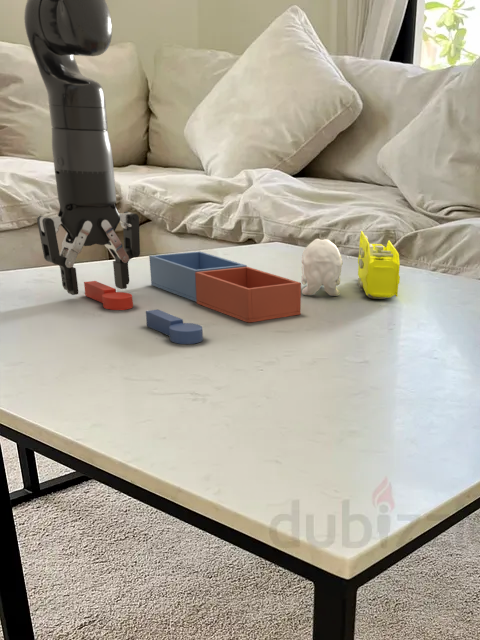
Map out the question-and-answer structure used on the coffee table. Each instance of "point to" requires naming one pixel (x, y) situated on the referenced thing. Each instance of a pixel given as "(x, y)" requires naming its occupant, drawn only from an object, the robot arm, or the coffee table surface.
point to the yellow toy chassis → (378, 269)
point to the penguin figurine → (321, 267)
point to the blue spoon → (174, 327)
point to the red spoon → (108, 296)
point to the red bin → (248, 294)
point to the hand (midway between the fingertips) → (97, 290)
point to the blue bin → (184, 271)
